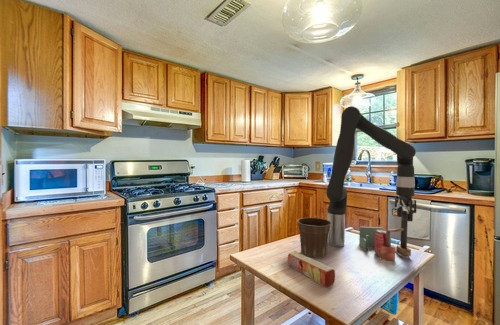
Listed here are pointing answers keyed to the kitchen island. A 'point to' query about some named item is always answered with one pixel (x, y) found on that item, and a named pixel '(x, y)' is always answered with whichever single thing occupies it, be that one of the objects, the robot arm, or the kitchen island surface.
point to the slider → (389, 251)
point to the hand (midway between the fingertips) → (404, 218)
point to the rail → (400, 254)
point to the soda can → (380, 240)
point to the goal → (367, 236)
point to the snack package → (312, 268)
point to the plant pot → (314, 236)
